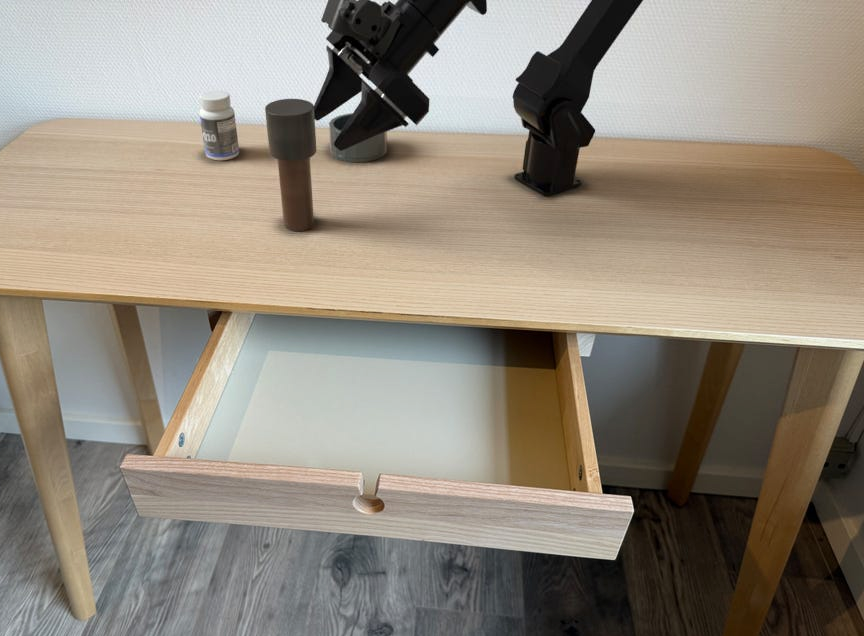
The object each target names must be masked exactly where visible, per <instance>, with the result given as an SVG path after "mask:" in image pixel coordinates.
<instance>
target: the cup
mask: <svg viewBox="0 0 864 636" xmlns="http://www.w3.org/2000/svg"><path fill="white" fill-rule="evenodd" d="M352 114H353V112H352V113H346V114H345V113H344V114H340V115H337V116H335V117H333V118H331V120H330V121H329V122H328V131H329V132H328V135H329V149H330V154H331V155H332V157H334V158H335V159H337V160H340V161H344V162H347V163H348V162H349V163H366V162H368V163H369V162H373V161H376V160H379V159H381V158H382V157H384V156H385V155H386V154H387V147H388V131H386V132H384V133H381V134H378V135H376V136H374V137H371V138H369V139H367V140H365V141H362V142H360V143H358V144H356V145H353V146H351V147H349V148H347V149H345V150H342V151H340V150H338V149H337V148H336V147H335V146H334V142H335V140H336V139H337V137H338V135H339V133H340V132H341V130H342V129H343V127H344V126H345V124H346V123H347V121H348V120H349V118H350V117H351V115H352Z"/></svg>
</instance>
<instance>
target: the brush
mask: <svg viewBox="0 0 864 636" xmlns="http://www.w3.org/2000/svg"><path fill="white" fill-rule="evenodd" d="M314 105H315V104H314V103H312V102H311V101H308V100H305V99H300V98H282V99H278V100H277V99H276V100H273V101H271V102H269V103H267V104H266V105H265V107H264V110H265V122H266V132H267V141H268V150H269V151H268V152H269V155H270V156H271V157H272V158H274V159H276V160H277V169H278V178H279V188H280V189H279V190H280V200H281V209H282V219H283V220H282V221H283V226H284V228H285V229H286V230H288V231H292V232H304V231H307V230H310V229H312V228H314V226H315V213H314V198H313V184H312V171H311V158H313V156H315V155H316V153H317V151H318V150H317V135H316V120H315V117H314Z"/></svg>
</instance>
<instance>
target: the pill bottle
mask: <svg viewBox="0 0 864 636" xmlns="http://www.w3.org/2000/svg"><path fill="white" fill-rule="evenodd" d="M199 105H200V107H201V108H200V110H199V113H198V114H199V115H198V116H199V121H200V127H201V133H202V140H203V147H204V152H205V155H206V157H207V158H208V159H210V160H212V161H227V160H231V159H234V158H236V157H237V156H239V154H240V147H239V146H240V145H239V138H238V130H237V123H236V113H235V110H234V108H233V107H232V106H231V97H230V93H229V92H228V91H226V90H223V89H222V90H221V89H211V90H210V89H209V90H206V91H203V92H201V93H200V94H199Z"/></svg>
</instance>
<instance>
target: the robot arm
mask: <svg viewBox="0 0 864 636" xmlns="http://www.w3.org/2000/svg"><path fill="white" fill-rule="evenodd" d="M643 1H644V0H590V2H589V3H588V5H587V6H586V7H585V10H584V11H583V12H582V14H581V15H580V17H579V18H578V20H577V21H576V23H575V24H574V26H573V27H572V29H571V30H570V31H569V33H568V35H567V36H566V37H565V39H564V40H563V42H562V43H561V45H560V46H559V47H557V48H555V50H553V51H551V52H550V53H548V54H547V55H546V54H545V53H543V52H541V51H540V50H537V51H535V53H534V54H533V55H532V56H531V57H530V60H529V61H528V63H527V66H526V67H525V69H524V70H523V72H521V74H520V75H519V76H517V77H516V78H515V82H517V85H516V86H515V89H514V90H513V93H512V101H513V102H512V103H513V109H514V112H515V113H516V114H517V115H518V117H520V121H521V125H522V127H523V128H524V129H526V130H528V136H527V140H526V141H525V147H524V153H523V154H524V155H523V163H522V171H521V172H517V173H514V175H513V179H514V180H515V181H518V182H519V183H521V184H523V185H525V186H526V187H528V188H530V189H532V190H534V191H535V192H537V193H538V194H541V195H542V196H552V195H555V194H558V193H561V192H564V191H567V190H570V189H574V188H577V187H580V186H582V185H583V180H582V179H579V178H578V177H576V171H577V165H578V160H579V154H580V149H582V148H587V147H589V145H590V143H591V141H592V139H593V137H594V136H595V134H596V129H595V128H594V126H593V124H592V123H590V121H589V120H588V119H587V118H586V116H585V115H584V114H583V113H582V111H583V110H584V108H585V106H586V104H587V102H588V100H589V98H590V94H591V90H592V89H591V88H592V84H593V77H594V73H595V70H596V69H597V67H598V66H599V64H600V63H601V62H602V59H603V58H604V57H605V55H606V54H607V52H608V51H609V50H610V48H611V47H612V45H614V43H615V41H616V40H617V38H618V37H619V35H620V34H621V33H622V31H623V30H624V28H625V27H626V25H627V24H628V23H629V21H630V20H631V19H632V17H633V15H634V14H635V13H636V12H637V10H638V9H639V7H640V6H641V5H642V3H643ZM466 7H467V8H469V9H470V10H472V11H474V12H476V13H477V14H479V15H481V16H485V15H486V14H487V13H488V8H487V7H488V2H487V0H397V1H396V2H395V4H394V3H393V2H391V1H390V0H387V1H384V2H383V3H382V4H380V3H378V2H376V1H374V0H373V1H372V0H327V3H326V6H325V8H324V10H323V14H322V16H321V20H320V21H321V22H322V23H324V24H327V27H328V29H330V30H331V31H330V33H329V34H328V35H327V36H326V38H325V40H326V41H327V42H328V43H330V45H331V46H332V47H333V48H331V47H330V46H329V45H326V48H325V49H326V50H325V51H326V52H327V57H328V70H327V74H326V76H325V79H324V82H323V83H322V85H321V88H320V90H319V93H318V95H317V98H316V100H315V102H314V104H313V105H314V117H315V121H317V122H318V121H320V120H322V119H324V118H325V117H326V116H328V115H330V114H331V113H333V112H334V111H336V110H337V109H338V108H340V107H341V106H343V105H344V104H345V103H347V102H348V101H350V100H352V99H353V98H355V96H357V95H359V94H360V93H361V96H360V97H361V99H360V102H359V103H358V105H357V106H356V108H355V109H354V111H353V112H352V113H353V114H352V115H351V117H350V118H349V120H348V121H347V123H346V124H345V126H344V127H343V129H342V130H341V132H340V133H339V135H338V137H337V139H336V140H335V142H334V146H335V147H336V148H337V149H338V150H340V151H342V150H345V149H347V148H349V147H351V146H353V145H356V144H358V143H360V142H362V141H365V140H367V139H369V138H371V137H374V136H376V135H378V134H381V133H384V132H386V131H387V132H389V131H392V130H394V129H397V128H400V127H402V126H403V127H404V128H406V127H408V126H409V125H410V123H409V122H408V121H407V120H406V118H408V119H409V120H410V121H411V122H412V123H413V124H414V125H415V126H418V125H419V124H420V123H421V121H422V120H423V119H424V118H425V117H426V116H427V114H428V113H429V112H430V98H429V97H428V96H427V94H426V93H425V92H423V91H422V90H421V88H419V86H418V85H417V84H415V82H414V80H413V78H412V77H410V75H409V74H410V73H411V72H412V71H413V70H414V68H415V67H416V66H417V65H418V64H419V63H420V61H421V60H423V58H424V57H425V56H426V54H428V55H429V56H430V57H432V58H434V57H435V56H436V55H437V53H438V52H439V51H440V49H439V48H438V46H437V45H436V43H437V42H438V40H439V39H440V38H441V37H442V35H443V34H445V32H446V31H447V30H448V28H449V27H450V26H451V25H452V24H453V22H454V21H455V20H456V19H457V18H458V16H459V15H460V14H461V13H463V11H464V10H465V9H466ZM360 75H363V76H364V77H365V78H366V79H367V80H368V81H369V82H371V83H372V84H373V85H374V86H375V89H373V88H372V86H370V85H369V84H368V83H367V82H366V81H365V80H364V78H362V77H361V76H360Z"/></svg>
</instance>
